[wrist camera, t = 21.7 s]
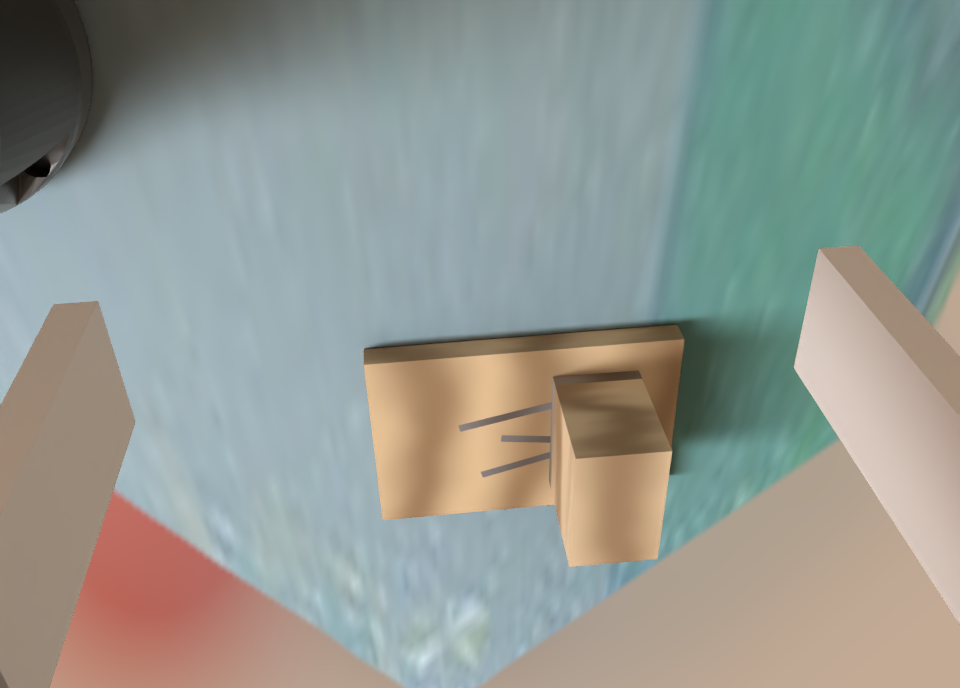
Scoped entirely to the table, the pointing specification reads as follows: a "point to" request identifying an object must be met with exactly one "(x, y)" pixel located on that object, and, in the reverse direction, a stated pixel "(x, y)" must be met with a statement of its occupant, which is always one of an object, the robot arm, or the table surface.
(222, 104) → the table surface
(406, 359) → the board
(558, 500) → the block
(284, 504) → the table surface
